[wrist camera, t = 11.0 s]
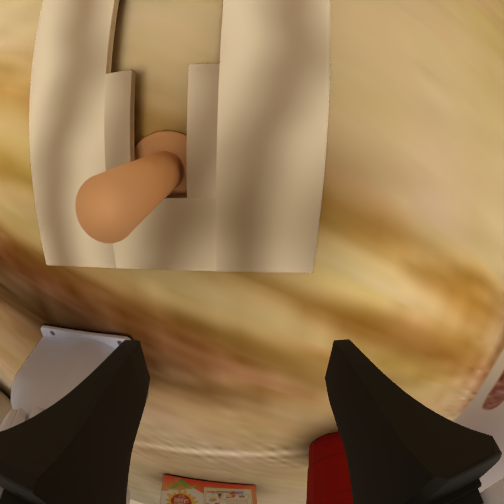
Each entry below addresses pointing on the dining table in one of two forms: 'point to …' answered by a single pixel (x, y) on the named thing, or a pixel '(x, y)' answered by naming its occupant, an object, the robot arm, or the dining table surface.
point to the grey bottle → (4, 406)
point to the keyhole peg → (133, 187)
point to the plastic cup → (328, 472)
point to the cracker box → (204, 492)
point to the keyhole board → (189, 140)
